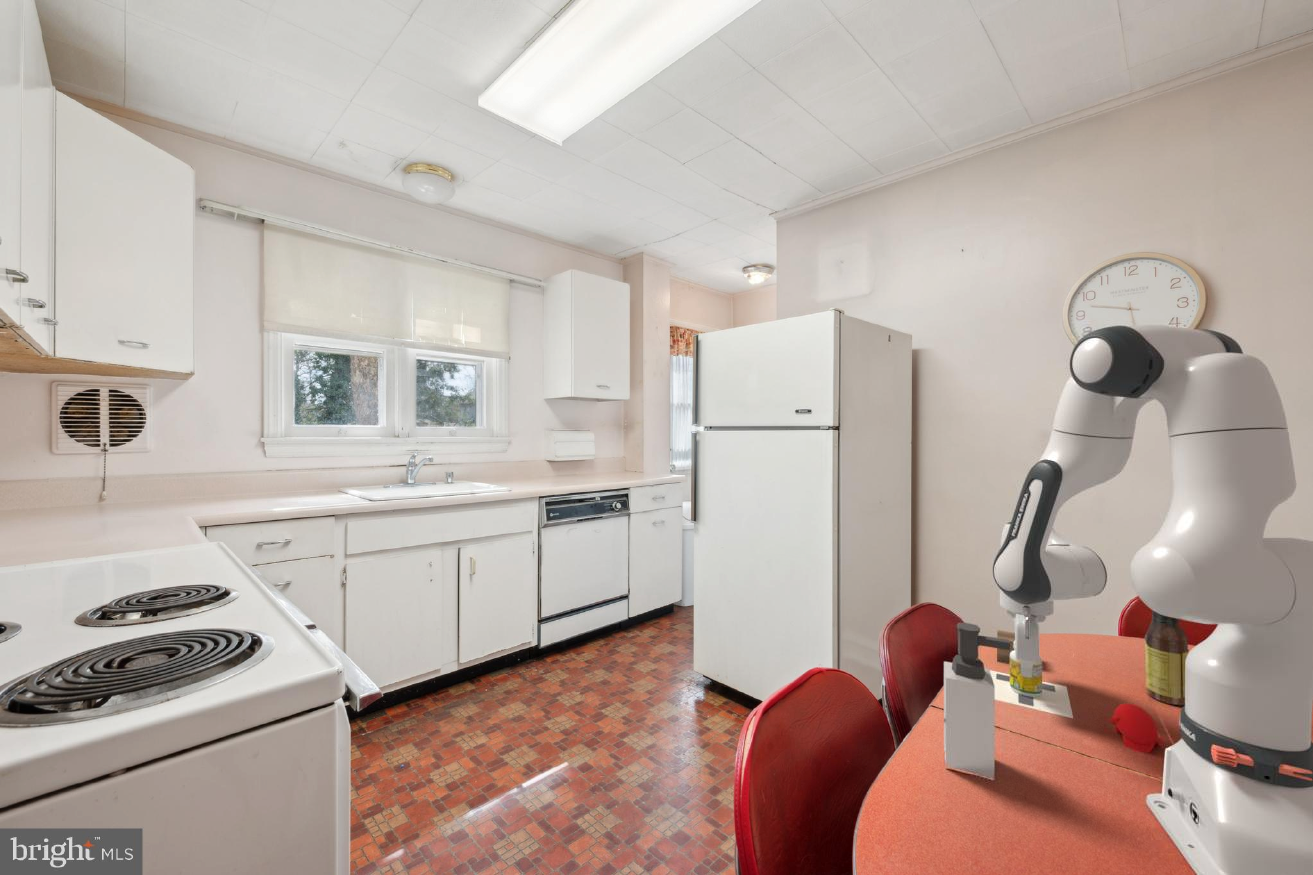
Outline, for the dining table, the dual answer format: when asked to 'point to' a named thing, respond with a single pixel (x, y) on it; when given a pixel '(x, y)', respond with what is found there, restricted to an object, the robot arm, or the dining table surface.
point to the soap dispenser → (970, 704)
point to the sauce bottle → (1166, 659)
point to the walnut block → (1004, 654)
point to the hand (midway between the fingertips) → (1025, 668)
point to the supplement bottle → (1025, 678)
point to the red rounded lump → (1136, 728)
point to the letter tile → (1049, 701)
